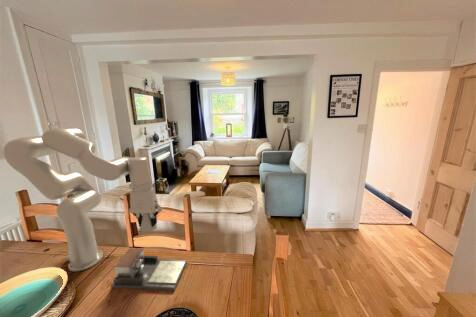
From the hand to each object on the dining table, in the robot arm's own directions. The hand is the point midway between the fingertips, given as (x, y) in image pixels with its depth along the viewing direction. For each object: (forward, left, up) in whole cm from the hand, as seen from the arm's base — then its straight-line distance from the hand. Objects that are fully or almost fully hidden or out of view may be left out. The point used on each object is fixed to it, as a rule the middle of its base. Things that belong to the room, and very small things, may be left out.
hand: (148, 224), depth 85 cm
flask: (0, 0, -2) cm, 2 cm away
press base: (+4, -9, -18) cm, 20 cm away
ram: (-4, -9, -16) cm, 19 cm away
